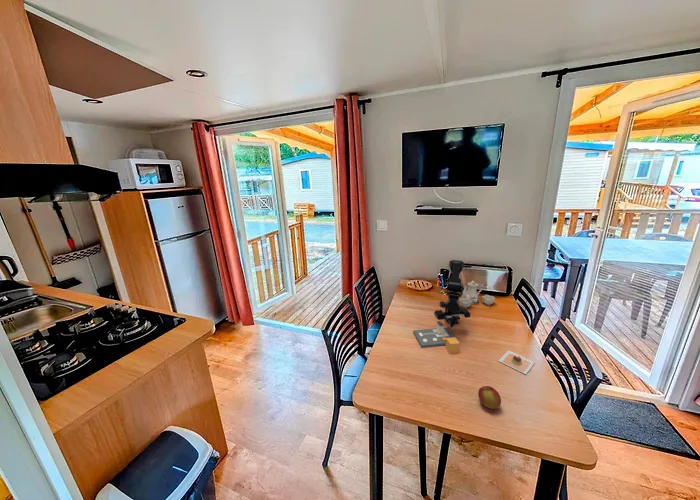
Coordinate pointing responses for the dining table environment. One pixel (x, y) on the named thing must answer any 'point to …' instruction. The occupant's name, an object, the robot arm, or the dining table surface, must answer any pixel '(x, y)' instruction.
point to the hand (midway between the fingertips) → (451, 327)
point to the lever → (439, 327)
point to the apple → (489, 397)
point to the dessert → (517, 360)
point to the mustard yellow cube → (452, 345)
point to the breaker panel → (432, 337)
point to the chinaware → (474, 296)
